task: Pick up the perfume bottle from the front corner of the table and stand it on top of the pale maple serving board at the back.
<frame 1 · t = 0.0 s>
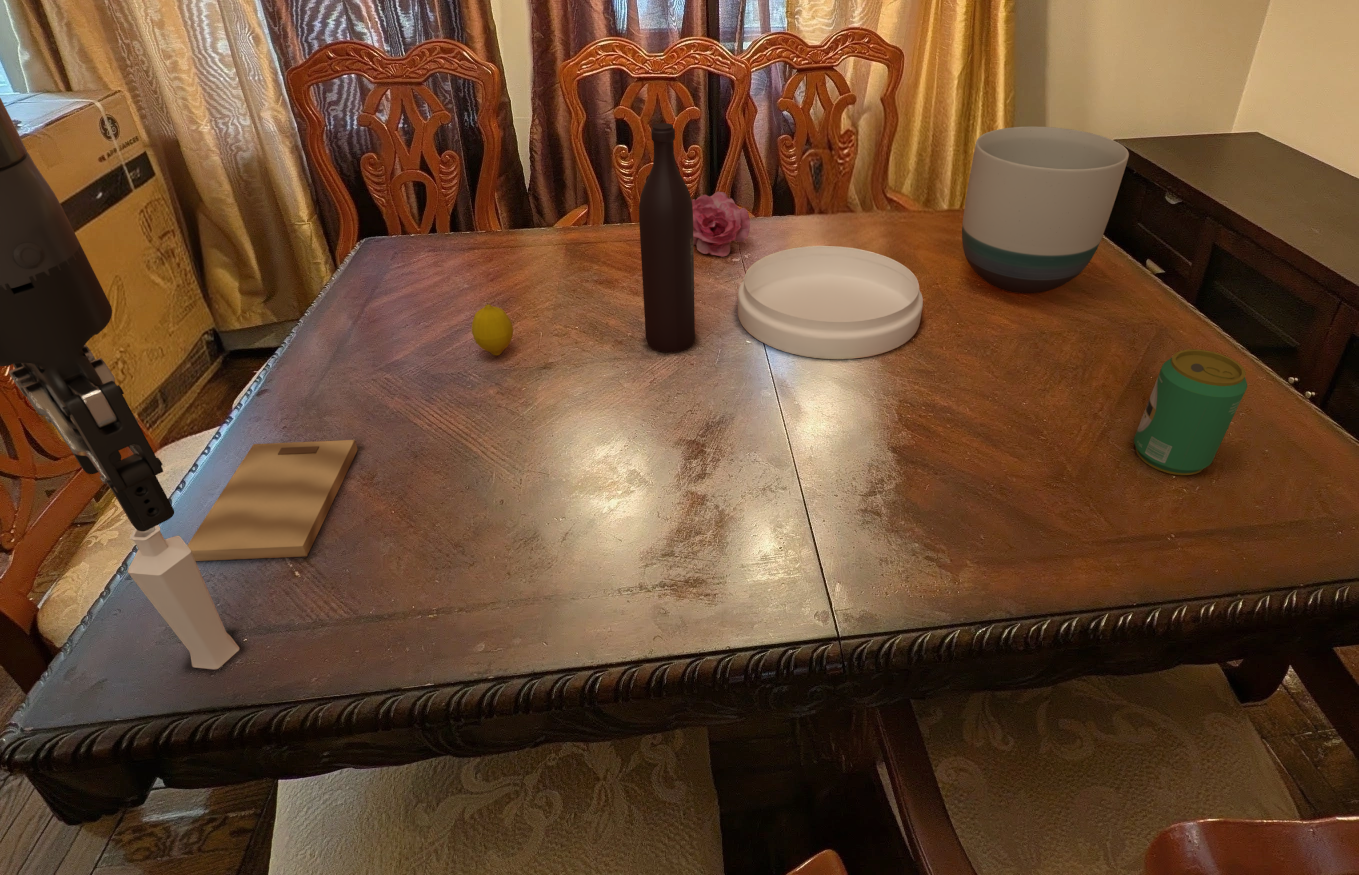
hand: (129, 493, 51), 25 cm above the table, tool pointing down, fingers open, 8 cm apart
fruit: (497, 355, 114), on the table
wine bottle: (670, 342, 115), on the table
perfume bottle: (217, 652, 72), on the table
plate: (827, 315, 121), on the table
flower: (715, 248, 142), on the table
planter: (1016, 285, 127), on the table
beverage can: (1169, 456, 91), on the table
serving board: (280, 501, 89), on the table
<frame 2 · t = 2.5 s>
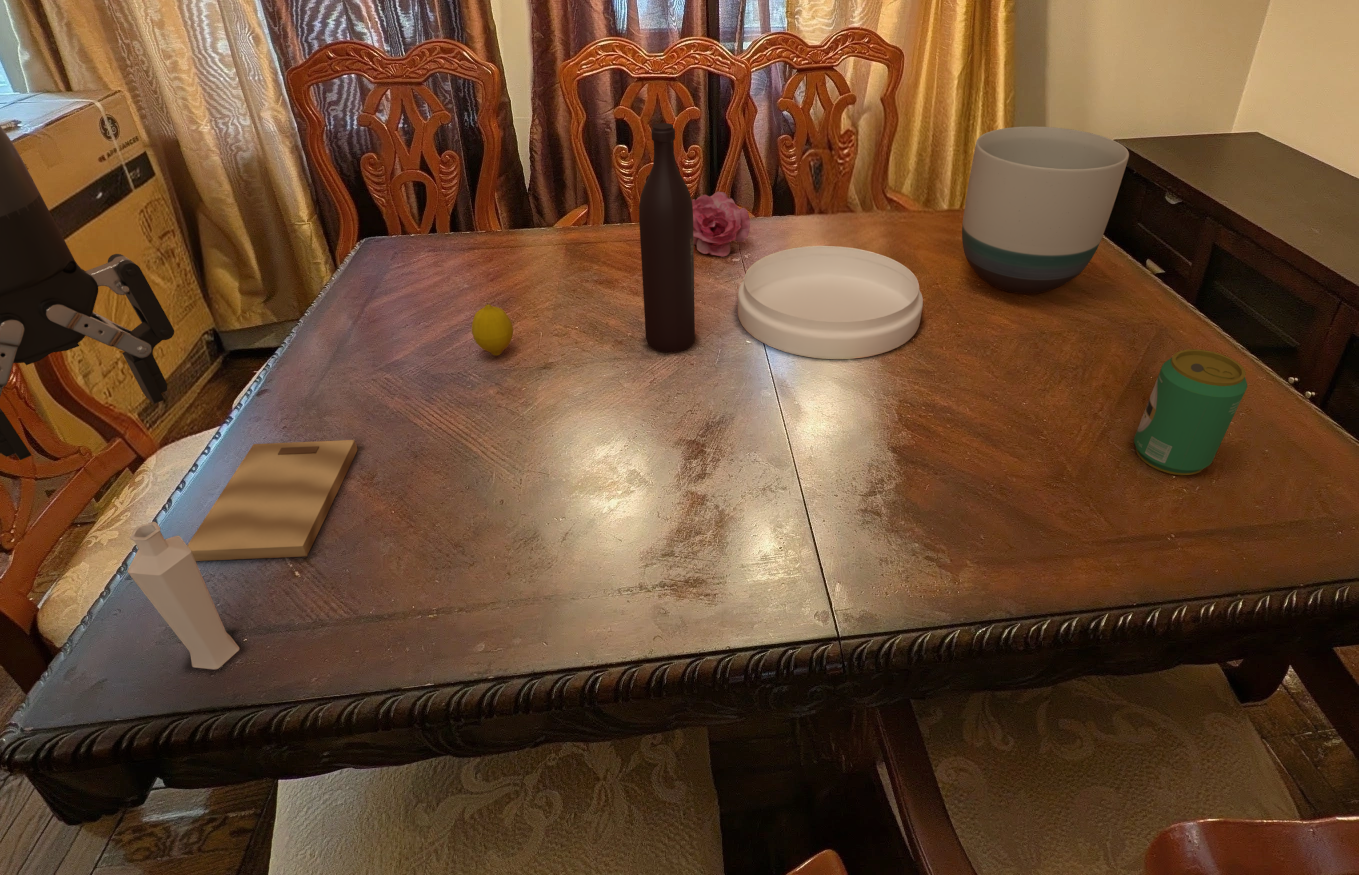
hand: (92, 424, 57), 26 cm above the table, tool pointing down, fingers open, 8 cm apart
nothing on the table moved.
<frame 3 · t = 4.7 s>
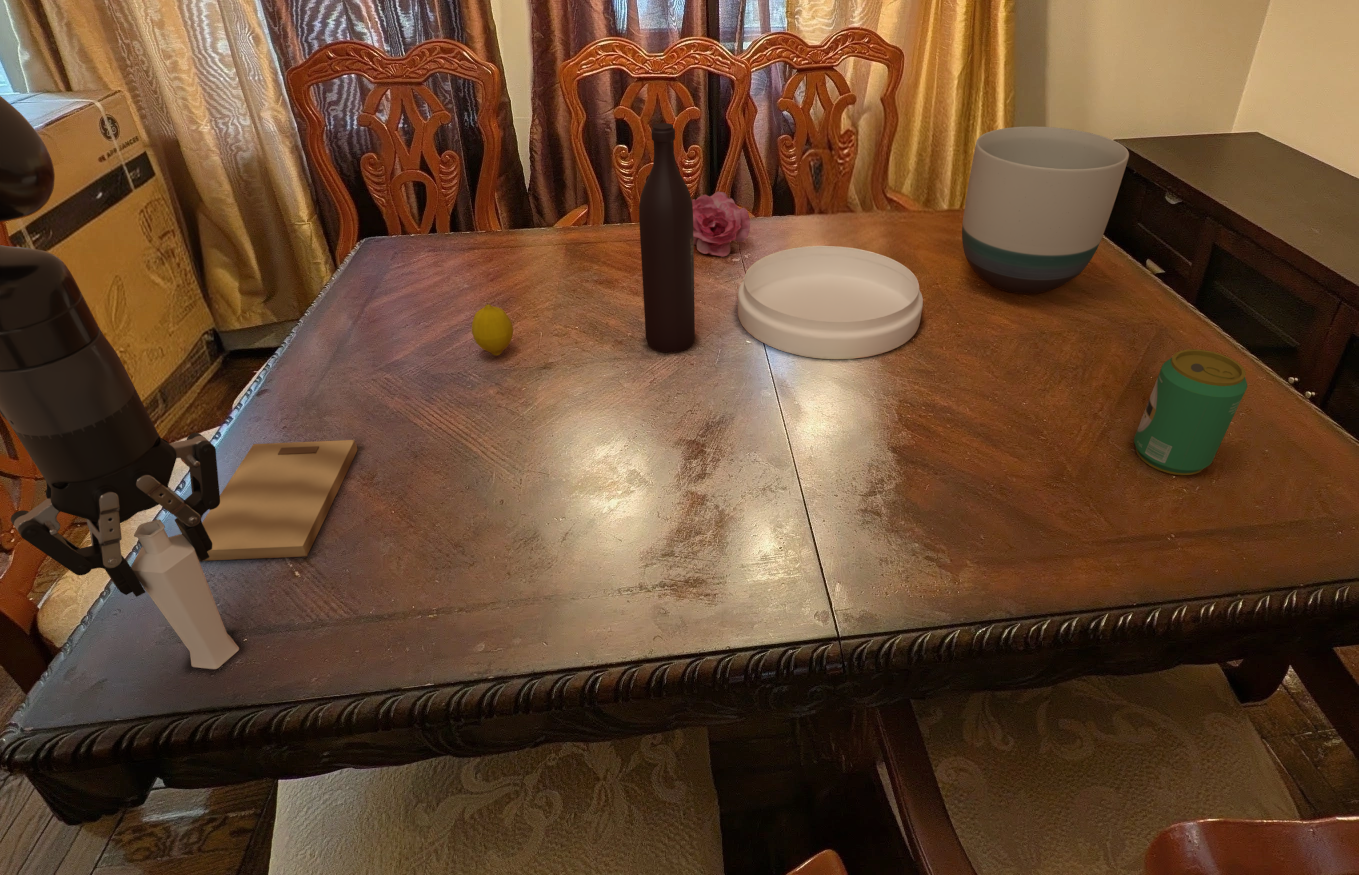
hand: (169, 571, 66), 10 cm above the table, tool pointing down, fingers closed on perfume bottle, 4 cm apart
perfume bottle: (217, 652, 72), on the table, touching gripper
everything else where it was.
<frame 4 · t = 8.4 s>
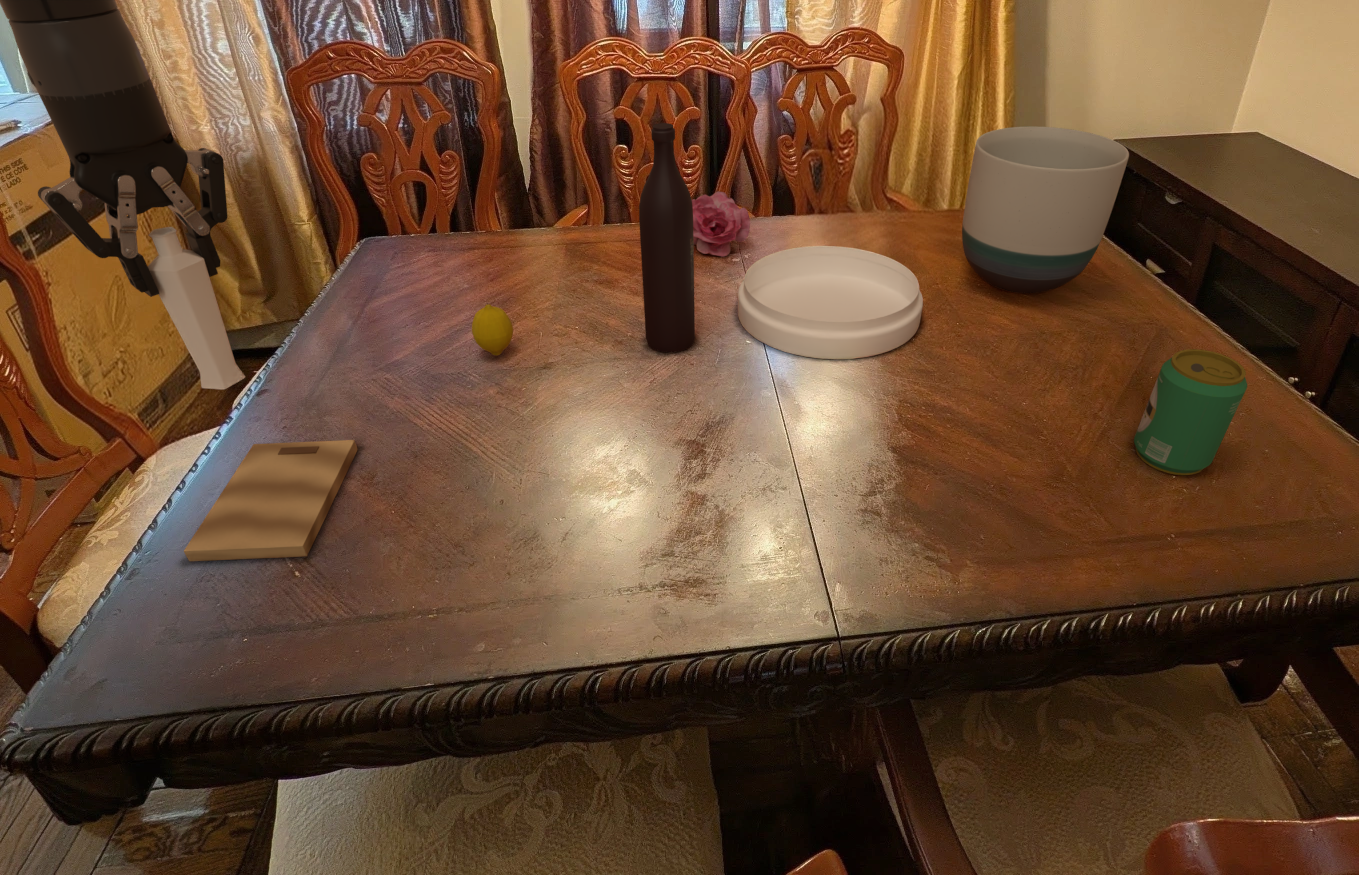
hand: (181, 282, 72), 27 cm above the table, tool pointing down, fingers closed on perfume bottle, 4 cm apart
perfume bottle: (225, 380, 78), point 17 cm above the table, touching gripper
everything else where it was.
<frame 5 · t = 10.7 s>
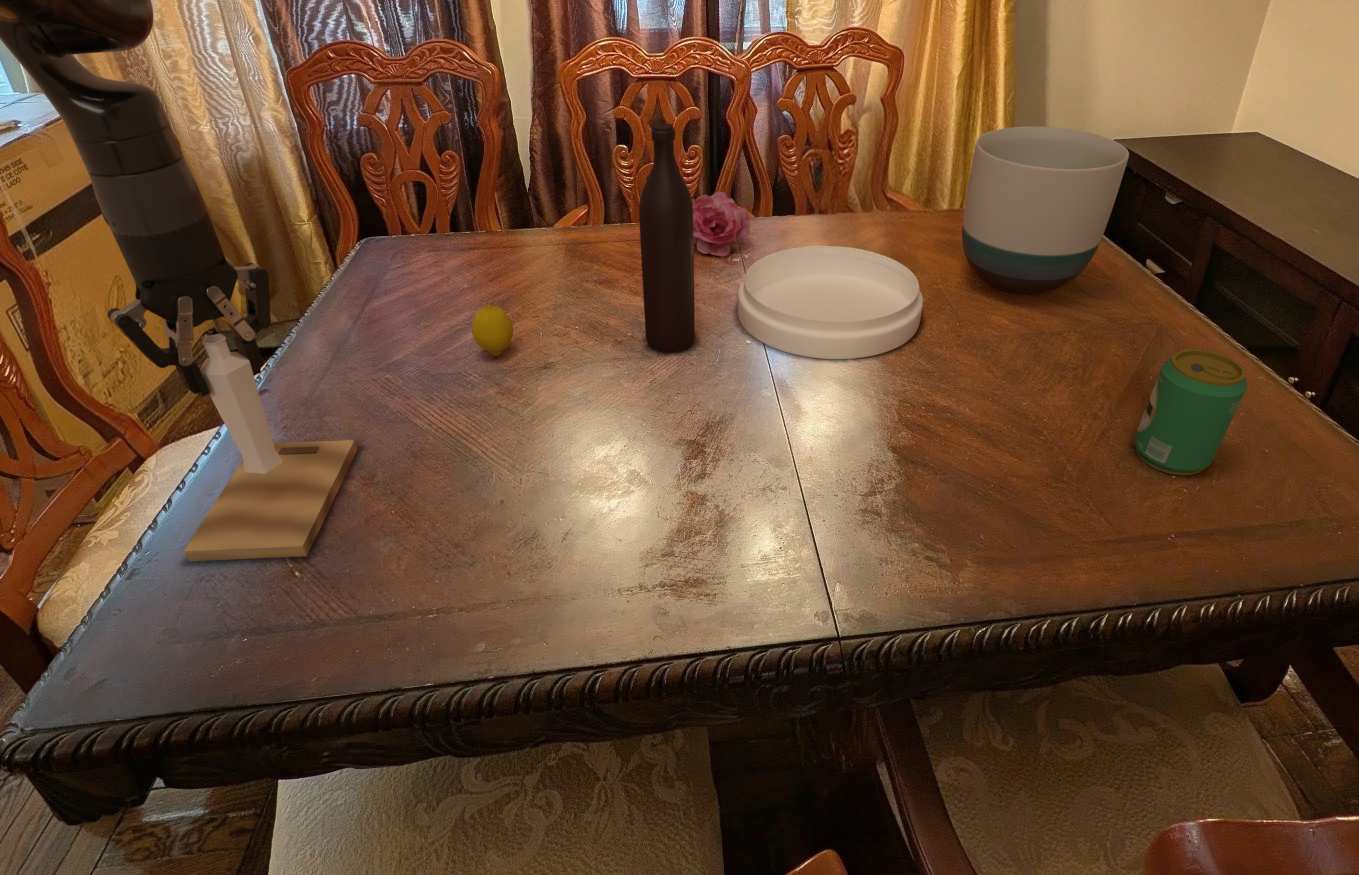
hand: (228, 381, 79), 16 cm above the table, tool pointing down, fingers closed on perfume bottle, 4 cm apart
perfume bottle: (264, 463, 86), point 5 cm above the table, touching gripper
everything else where it was.
when the fingers open (12 cm above the table, at t = 12.2 s): perfume bottle stays where it is, resting on serving board.
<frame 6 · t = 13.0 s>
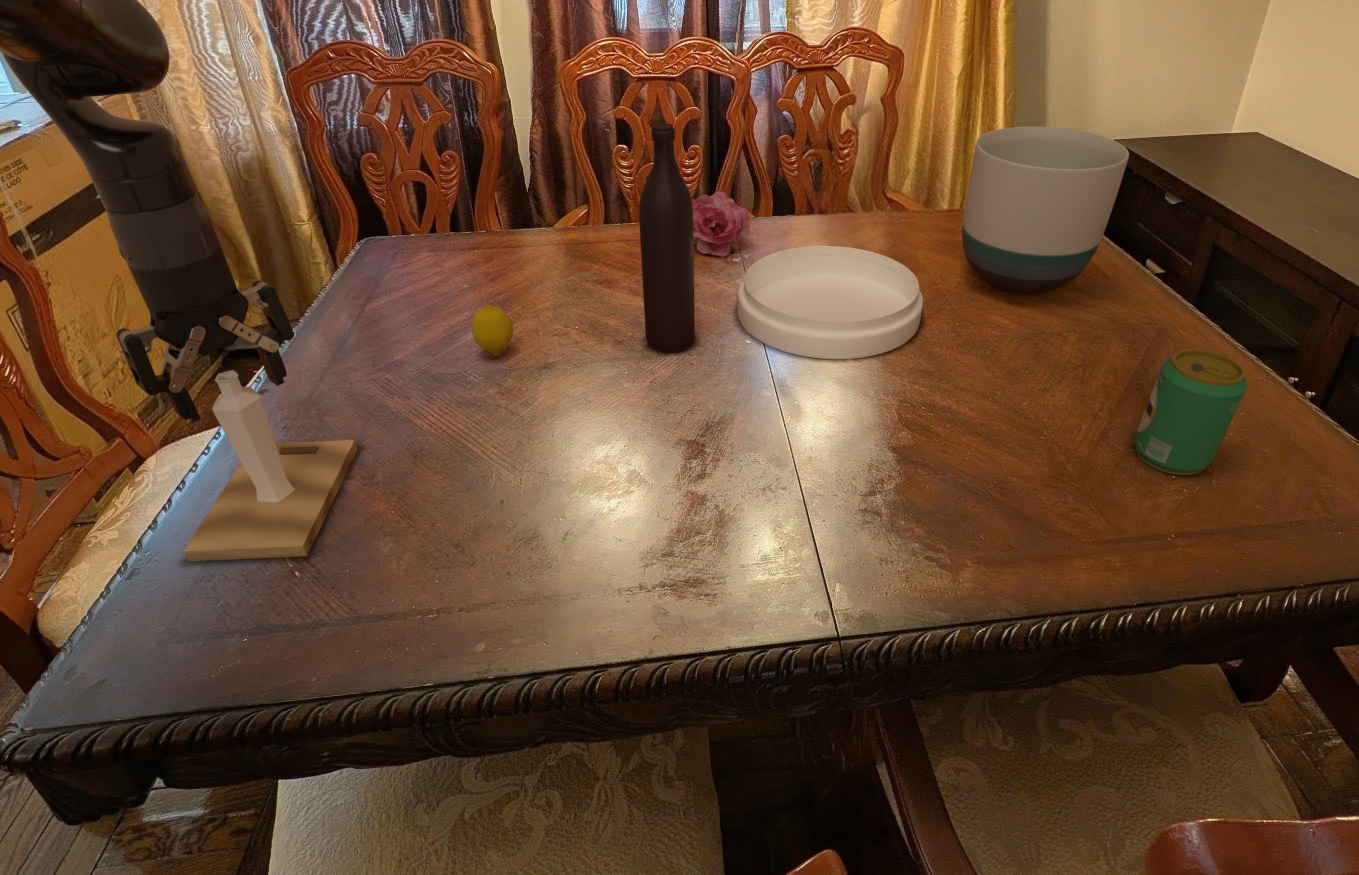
hand: (236, 399, 81), 14 cm above the table, tool pointing down, fingers open, 8 cm apart
perfume bottle: (277, 492, 88), point 1 cm above the table, touching serving board
everything else where it was.
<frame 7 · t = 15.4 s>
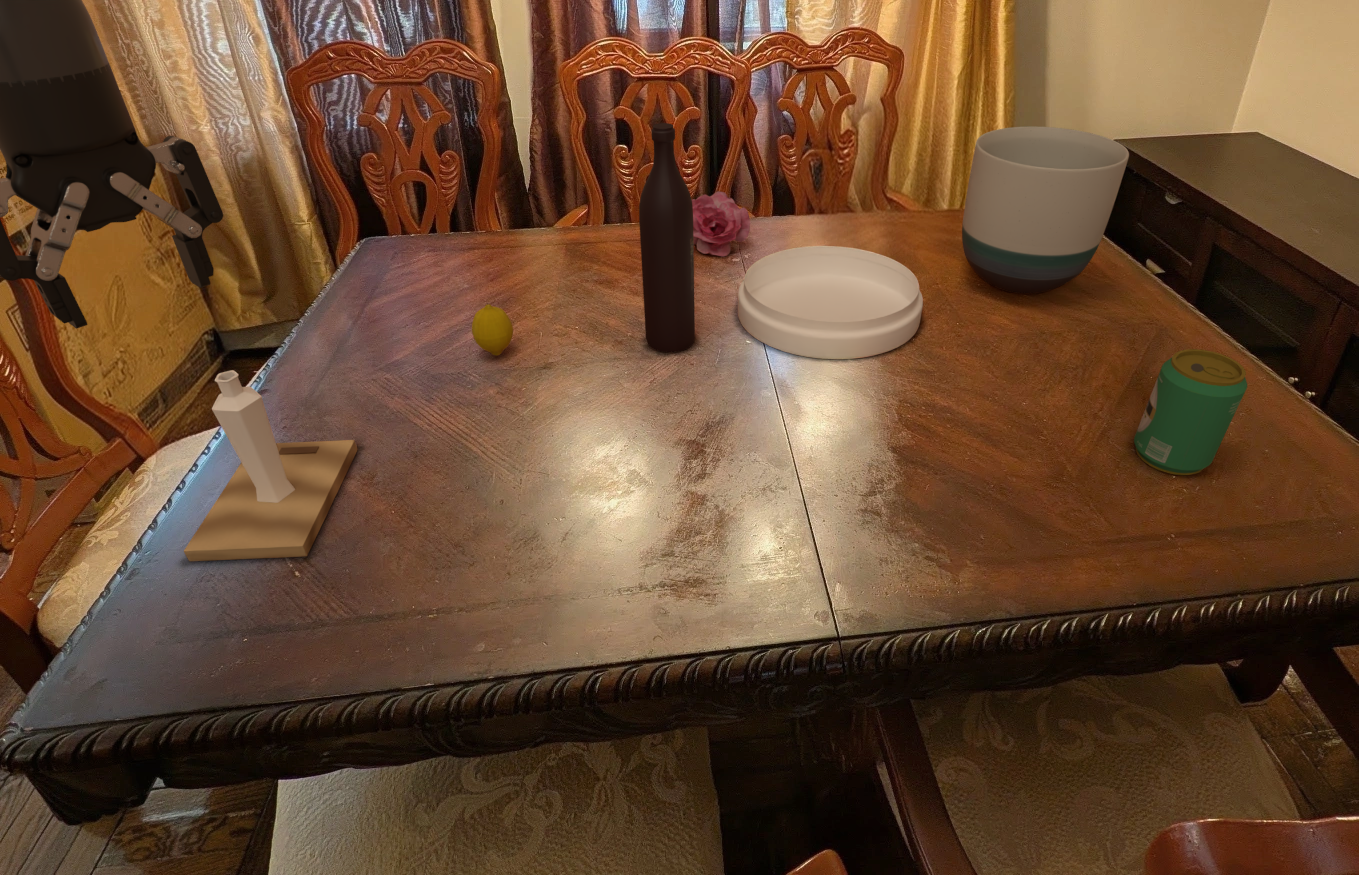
hand: (142, 303, 59), 31 cm above the table, tool pointing down, fingers open, 8 cm apart
nothing on the table moved.
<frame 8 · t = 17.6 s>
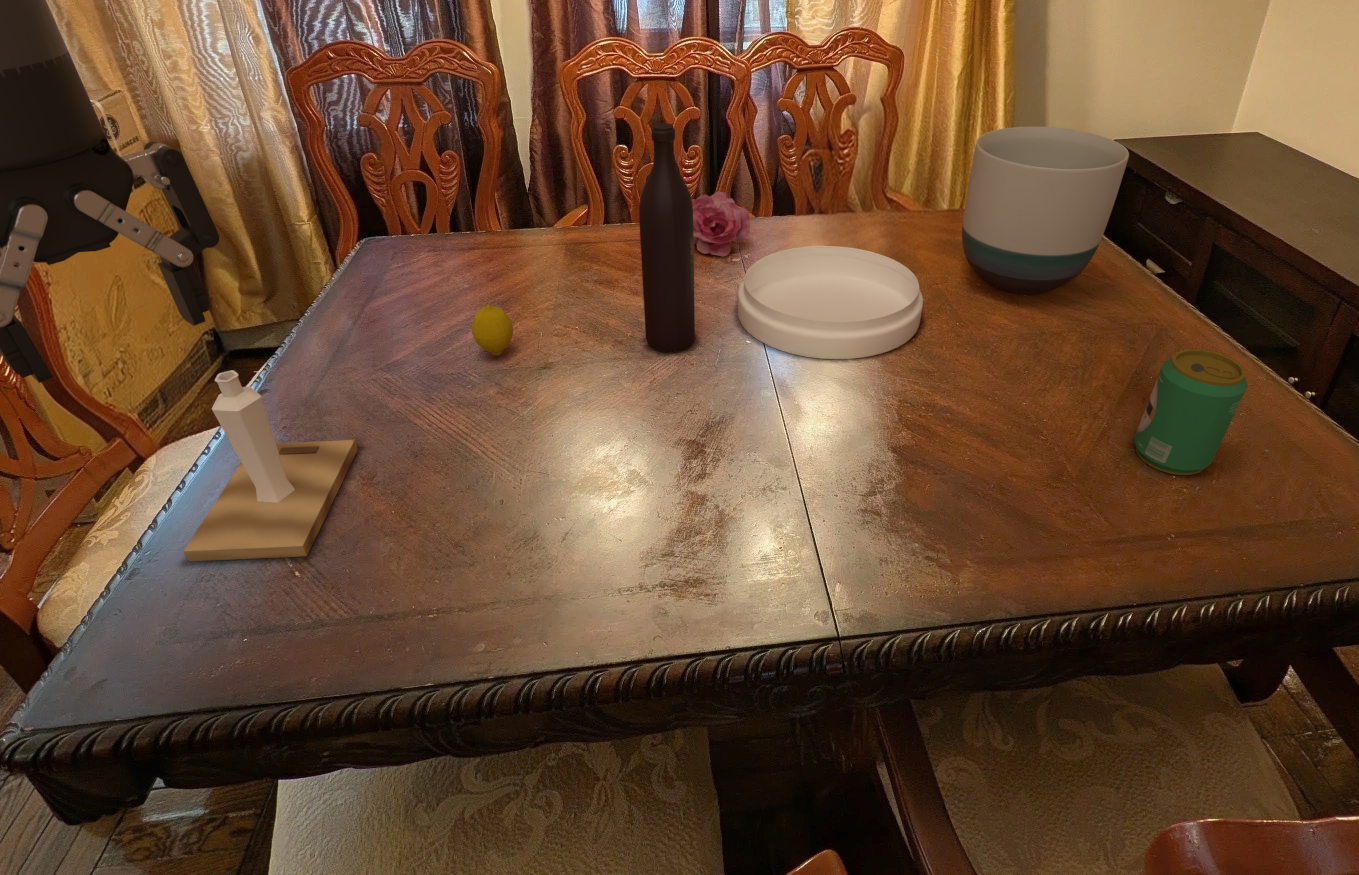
hand: (122, 346, 48), 34 cm above the table, tool pointing down, fingers open, 8 cm apart
nothing on the table moved.
at the end: perfume bottle inside the target area on the serving board (0.1 cm from its centre), point 1.3 cm above the serving board's base; perfume bottle tilted 0°; perfume bottle touching serving board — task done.
